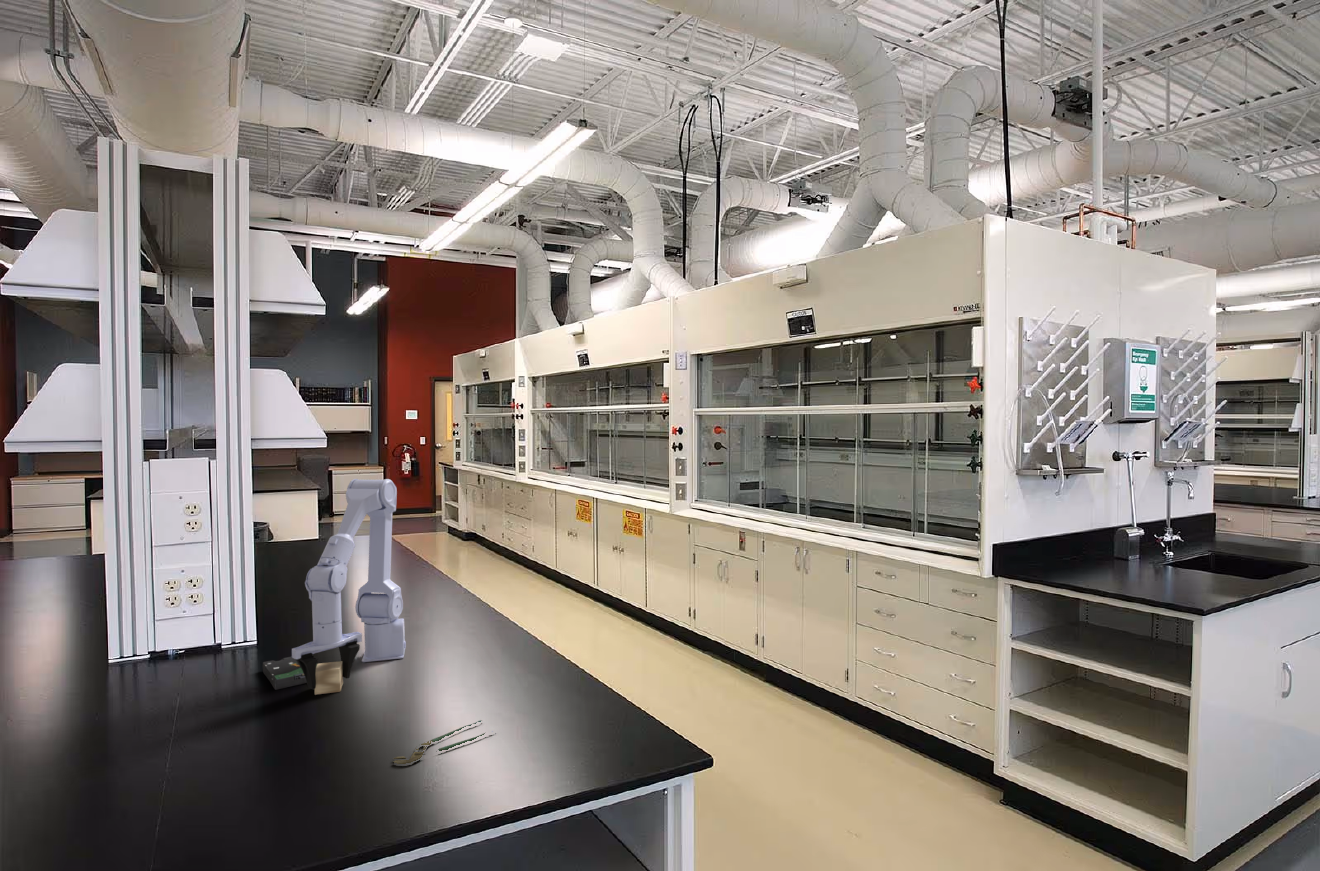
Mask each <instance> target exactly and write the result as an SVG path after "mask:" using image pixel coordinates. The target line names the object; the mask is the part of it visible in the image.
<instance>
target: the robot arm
mask: <svg viewBox="0 0 1320 871" xmlns="http://www.w3.org/2000/svg"><path fill="white" fill-rule="evenodd" d="M397 494H398V491H397V485H396V484H395V483H394V482H393V480H391V479H389V478H385V479H358V478H353V479H351V481H350V482H349V483H348V485H347V488H346V491H345V499H346V502H347V505H346V508H345V510H344V514H343V516H342V520H341V521H340V525H339V528H338V531H337V532H336V534H334V535H332V536H330V537H329V539H328V541H327V542H326V545H325V547H324V549H323V552H322V553H321V555H320V558H319V560H318V562H317V565H315V566H313V567H312V568H310V569H309V570H308V572H307V574H306V577H305V581H304V586H305V588H306V591H307V592H308V599H309V600H310V601H311V611H312V612H311V613H312V615H311V616H312V641H309V642H307V643H305V644H302V645H300V646H297V647H293V648H291V657H292V658H294V659H296V661H297V662H298V664H299V665H300V667H301V669H302V671H303V673H304V675H305V678H306V681H307V683H306V685H307V688H308V689H311V690H315V688H316V675H315V673H316V664H317V662H318V658H315V657H314V656H315V655H314V654H317V653H321V652H324V651H329V650H333V649H335V648H338V650H339V656H340V661H342V663H343V679H349V678H350V676H351V673H352V672H351V671H352V667H353V664H354V662H355V659H356V657H357V654H358V653H359V651H360V649H361V648H360V647H361V646H360V644H359V643H361V642H363V638H362V636H363V634H362V632H360V631H353V632H349V633H343V626H342V623H343V620H342V590H344V588H345V586H346V584H347V577H348V570H349V569H348V567H347V566H348V564H349V562H350V559H351V557H352V555H353V553H354V550H355V548H356V544H355V542H354V537H355V535H357V532H358V530H359V529H360V527H361V525H362V523H363V522H364V520H365V518H366V516H368V517H369V540H368V545H369V546H368V568H367V569H368V574H367V577H368V578H367V581H366V583H365V584H363V585H362V586H361V587H360V588H359V589H358V594H357V599H356V602H355V606H354V607H355V613H356V615H357V617H358V618H359V619H360V622H361V623H363V627H364V628H363V629H364V630H363V633H364V636H363V637H364V652H363V656H362V657H361V658H362V659H361V663H370V662H377V661H378V662H379V661H381V662H382V661H388V660H397V659H404V656H405V653H406V652H405V651H406V647H407V642H406V640H405V639H406V636H405V634H406V633H405V629H406V628H405V618H403V617H402V618H399V617H400V616H401V614H402V612H403V610H404V601H403V596H402V587H400V586H399V585H398V584H397V583H395V582H394V581H392V580H391V576H392V575H391V574H392V573H391V570H392V569H391V568H392V565H391V564H392V542H393V541H392V534H393V513H395V512H396V511H397V496H398V495H397Z"/></svg>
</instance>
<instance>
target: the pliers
mask: <svg viewBox="0 0 1320 871" xmlns="http://www.w3.org/2000/svg"><path fill="white" fill-rule="evenodd" d="M481 721H482V720H481V719H480V720H478V721H476V722H473V723H472V724H476V723H477V722H481ZM472 724H468V725H464V726H462V727H459V728H457V729H455V730H452V731H450V732H447V733H445V734H443V735H440V736H437V737H435V738H431V739H430V740H428V741H426V742H427V743H425V742H423V743H420V744H421V745H430V744H431V741H432V742H435V741H439V740H441V739H442V738H444V737H445V736H449V735H451V734H453V733H454V732H455V731H459V730H461V729H462V728H464V727H466V726H471V725H472ZM485 733H486V732H483V733H481V734H479V735H477V736H475V737H474V736H473V737H472V738H471V737H470V738H468V739H465V740H461V741H458V742H455V743H452V744H448V745H445V746H443V747H439V748H438V749H437V750H439V751H442V750H448V749H449V748H452V747H454V746H456V745H460V744H462V743H465V742H467V741H472V740H474V739H476V738H477V737H479V736H482V735H484V734H485ZM429 741H430V743H429ZM424 747H425V746H424ZM424 747H422V750H425V749H426V747H427V746H426V747H425V748H424ZM415 749H416V748H415ZM416 750H419V748H418V749H416ZM413 752H414V751H413ZM413 752H412V754H411V757H409V758H410V759H409V760H395V761H393V759H407V758H406V757H405V756H404V755H403V756H395V757H393V758H392V763H393V762H394V763H397V764H406V763H411V762H413V761H416V760H418V759H420V758H421V757H422V755H423V753H424V751H423V752H421V751H420V750H419V752H414V753H413Z"/></svg>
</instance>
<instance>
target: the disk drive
mask: <svg viewBox="0 0 1320 871" xmlns="http://www.w3.org/2000/svg"><path fill="white" fill-rule="evenodd" d="M317 664H319V662H318V661H317ZM317 664H316V666H317ZM262 672H263V674H264V675H265V677H266V678H267V680H268V682H270V684H271V686H272V687H273V689H274V690H276V691H277V690H281V689H286V688H289V687H290V688H291V687H294V686H298V685H299V686H300V685H303V684H307V681H306V678H305V675H304V673H303V671H302V669H301V667H300V665H299V664H298V662H297V661H296V659H294V658H292V656H288V657H283V658H281V659H280V660H268V661H263V662H262Z"/></svg>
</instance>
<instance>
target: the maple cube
mask: <svg viewBox="0 0 1320 871" xmlns="http://www.w3.org/2000/svg"><path fill="white" fill-rule="evenodd" d="M318 663H319V662H318ZM315 675H316V688H315V689H314V695H315V696H316V695H322V694H330V693H331V694H332V693H340V692H341V691H342V688H343V684H344V677H343V663H342V661H341V660H340V661H339V660H338V661H331V662H322V663H319V664H317V666H316V673H315Z"/></svg>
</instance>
